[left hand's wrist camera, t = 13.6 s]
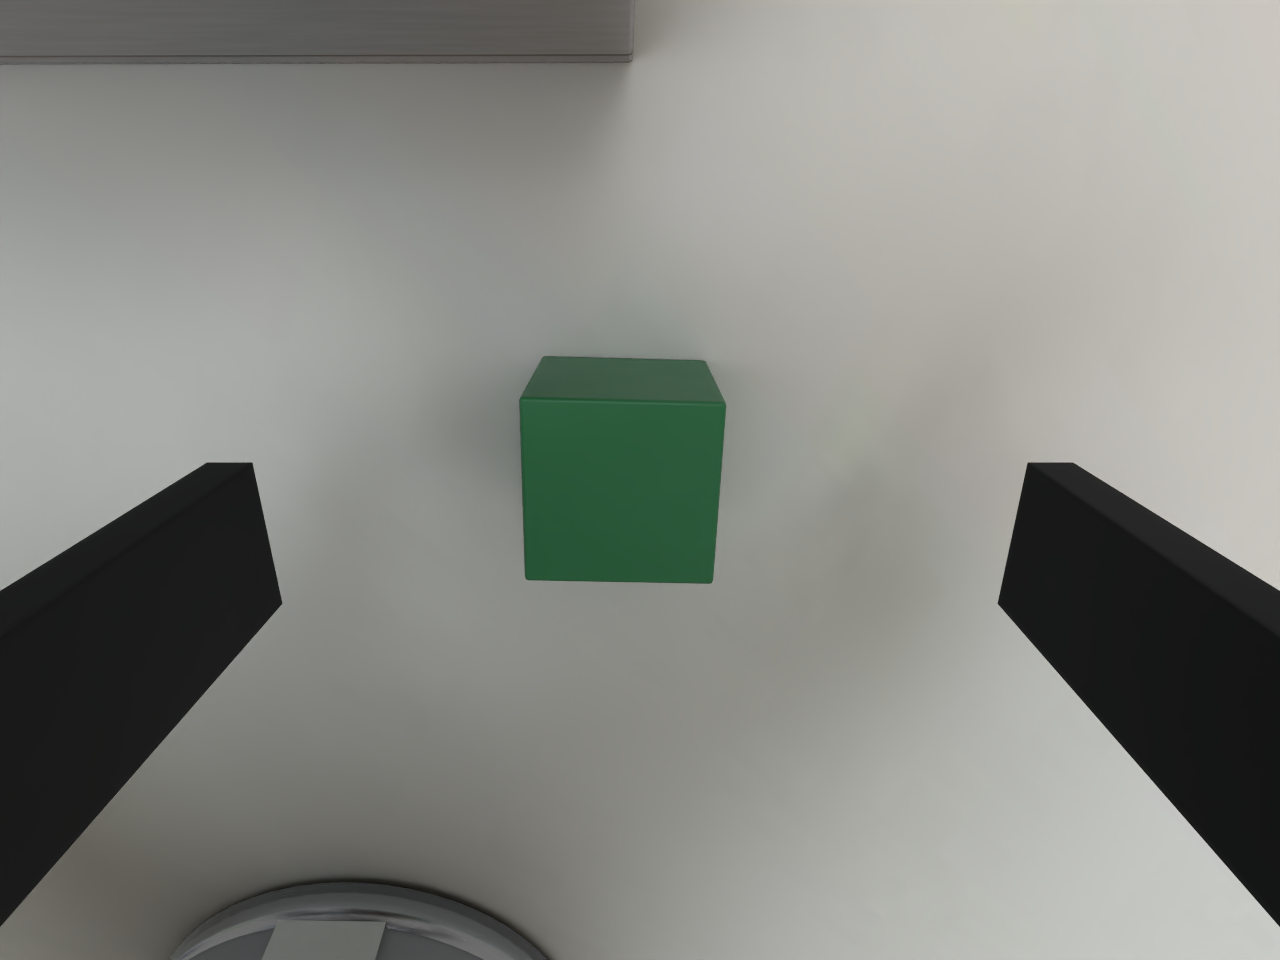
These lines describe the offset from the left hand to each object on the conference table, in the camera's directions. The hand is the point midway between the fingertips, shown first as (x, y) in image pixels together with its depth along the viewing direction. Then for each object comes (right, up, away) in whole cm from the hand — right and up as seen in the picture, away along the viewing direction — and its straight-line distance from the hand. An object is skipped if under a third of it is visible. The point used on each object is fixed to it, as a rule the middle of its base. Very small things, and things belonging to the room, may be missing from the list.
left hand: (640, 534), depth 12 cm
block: (0, +2, +6) cm, 6 cm away
